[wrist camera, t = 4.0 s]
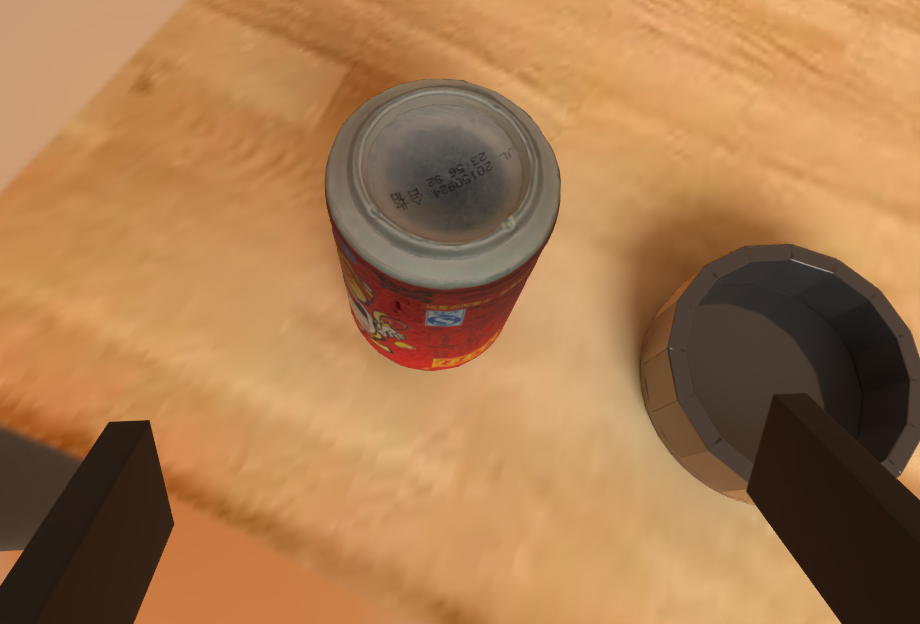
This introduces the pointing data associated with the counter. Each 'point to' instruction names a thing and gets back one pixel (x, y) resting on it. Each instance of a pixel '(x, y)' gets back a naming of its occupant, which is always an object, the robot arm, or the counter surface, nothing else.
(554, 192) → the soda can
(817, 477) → the robot arm
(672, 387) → the holder
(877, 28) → the counter surface
